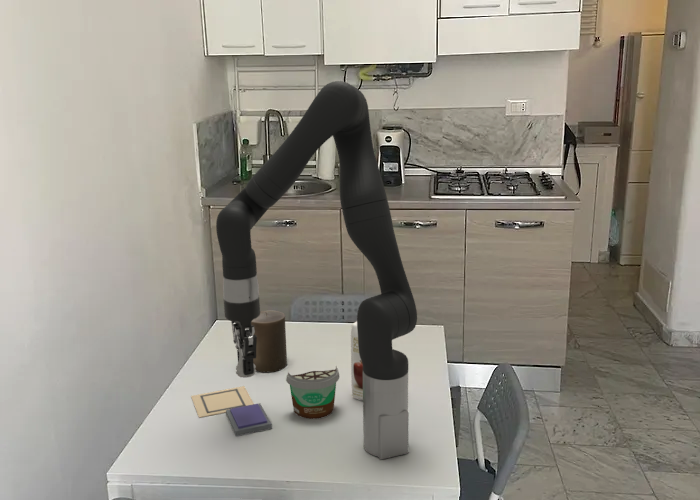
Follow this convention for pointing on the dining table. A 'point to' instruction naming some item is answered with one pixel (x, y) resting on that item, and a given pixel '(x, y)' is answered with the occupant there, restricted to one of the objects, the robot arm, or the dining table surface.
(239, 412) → the ink pad
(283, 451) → the dining table surface
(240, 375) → the rook chess piece
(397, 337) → the robot arm
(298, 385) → the food container
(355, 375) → the juice carton
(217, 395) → the marked card
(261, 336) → the pillar candle
